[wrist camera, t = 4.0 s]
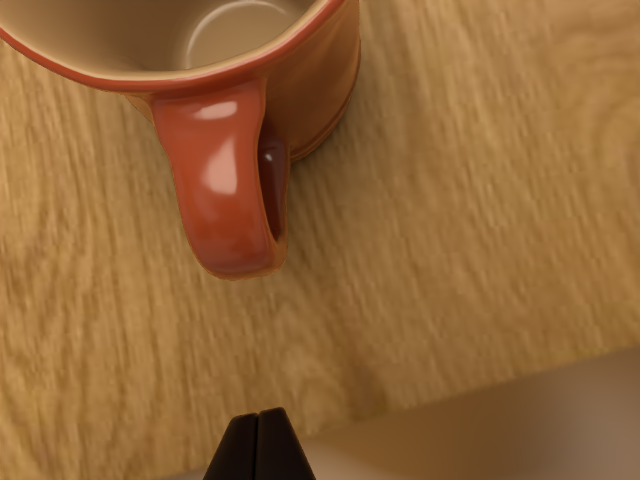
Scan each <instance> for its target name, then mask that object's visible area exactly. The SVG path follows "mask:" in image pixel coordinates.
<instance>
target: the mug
mask: <svg viewBox="0 0 640 480" xmlns="http://www.w3.org/2000/svg"><path fill="white" fill-rule="evenodd" d="M0 38H2V39H3V40H4V41H5V42H6V43H8V44H9V45H10V46H11V47H13V48H14V49H15V50H17V51H18V52H20V53H21V54H23V55H24V56H26V57H27V58H29V59H31V60H32V61H34V62H36V63H38V64H39V65H41V66H43V67H45V68H47V69H49V70H50V71H52V72H54V73H56V74H59V75H61V76H63V77H65V78H67V79H69V80H72V81H74V82H77V83H80V84H82V85H85V86H88V87H91V88H94V89H97V90H101V91H105V92H110V93H116V94H120V95H124V96H125V97H126V98H127V99H128V100H129V101H130V102H131V104H132V105H133V106H134V107H135V108H136V109H137V110H138V111H139V112H140V113H141V114H143V115H144V116H145V117H146V118H147V119H148V120H149V121H150V122H151V123H152V124H153V125H154V128H155V132H156V134H157V137H158V139H159V141H160V143H161V145H162V147H163V148H164V150H165V152H166V154H167V157H168V159H169V162H170V165H171V169H172V173H173V178H174V183H175V189H176V194H177V200H178V205H179V210H180V214H181V218H182V223H183V226H184V230H185V233H186V236H187V239H188V242H189V245H190V247H191V250H192V252H193V254H194V256H195V257H196V259H197V261H198V262H199V263H200V265H201V266H202V267H203V268H204V269H205V270H206V271H207V272H208V273H209V274H211V275H213V276H214V277H217V278H219V279H222V280H229V281H236V280H245V279H252V278H258V277H263V276H267V275H270V274H272V273H274V272H276V271H277V270H278V269H280V268H281V267H282V265H283V263H284V261H285V259H286V256H287V248H288V228H287V212H286V199H287V191H288V184H289V176H290V163H293V162H296V161H298V160H300V159H302V158H304V157H306V156H307V155H308V154H310V153H311V152H312V151H313V150H314V149H315V148H317V147H318V146H319V145H320V144H321V143H322V142H323V141H324V140H325V139H326V137H327V136H328V135H329V134H330V133H331V131H332V130H333V129H334V127H335V126H336V124H337V123H338V121H339V120H340V118H341V117H342V115H343V113H344V112H345V110H346V108H347V106H348V103H349V101H350V98H351V96H352V92H353V90H354V88H355V84H356V81H357V78H358V73H359V68H360V61H361V39H360V22H359V0H0Z"/></svg>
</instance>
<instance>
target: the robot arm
mask: <svg viewBox="0 0 640 480" xmlns="http://www.w3.org/2000/svg"><path fill="white" fill-rule="evenodd" d="M203 480H316V478H315V476H314V474H313V472H312V470H311V467H310V465H309V463H308V461H307V458H306V456H305V454H304V452H303V449H302V447H301V445H300V443H299V440H298V438H297V436H296V434H295V431H294V429H293V427H292V425H291V423H290V420H289V418H288V416H287V414H286V411H285V410H284V408H282V407H277V408H273V409H268V410H263V411H261V412H260V413H259V415H258V414H257V413H249V414H244V415H239V416H236V417H234V418H233V419H232V420H231V421H230V423H229V425H228V427H227V429H226V431H225V433H224V436H223V438H222V440H221V442H220V444H219V446H218V448H217V450H216V452H215V455H214V457H213V459H212V461H211V463H210V465H209V467H208V469H207V472H206V474H205V476H204V478H203Z"/></svg>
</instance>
